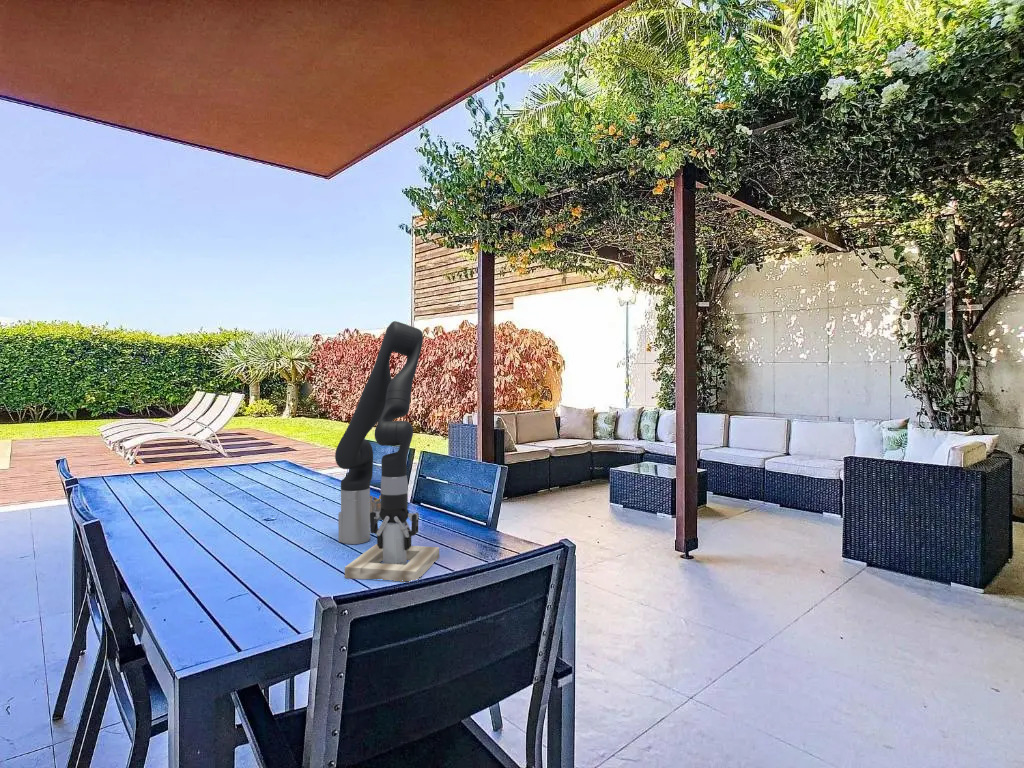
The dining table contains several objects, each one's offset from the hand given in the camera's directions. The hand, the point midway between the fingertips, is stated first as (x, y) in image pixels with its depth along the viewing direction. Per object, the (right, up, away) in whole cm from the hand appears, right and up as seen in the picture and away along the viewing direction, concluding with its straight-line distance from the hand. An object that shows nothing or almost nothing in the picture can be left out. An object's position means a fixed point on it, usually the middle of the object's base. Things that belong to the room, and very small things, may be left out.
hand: (394, 548), depth 164 cm
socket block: (0, -5, 0) cm, 5 cm away
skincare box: (0, -5, 0) cm, 5 cm away
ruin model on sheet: (-19, -5, +55) cm, 58 cm away
